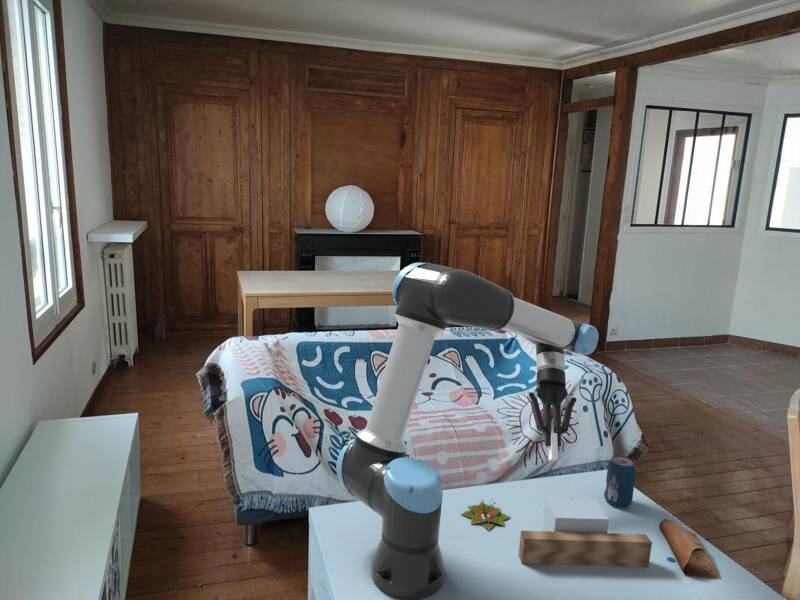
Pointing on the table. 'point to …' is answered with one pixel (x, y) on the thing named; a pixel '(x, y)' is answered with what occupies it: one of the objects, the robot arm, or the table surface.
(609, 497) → the soda can
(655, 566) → the table surface
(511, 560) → the table surface
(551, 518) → the white block
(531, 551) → the walnut board
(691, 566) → the sunglasses case
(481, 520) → the lily flower
